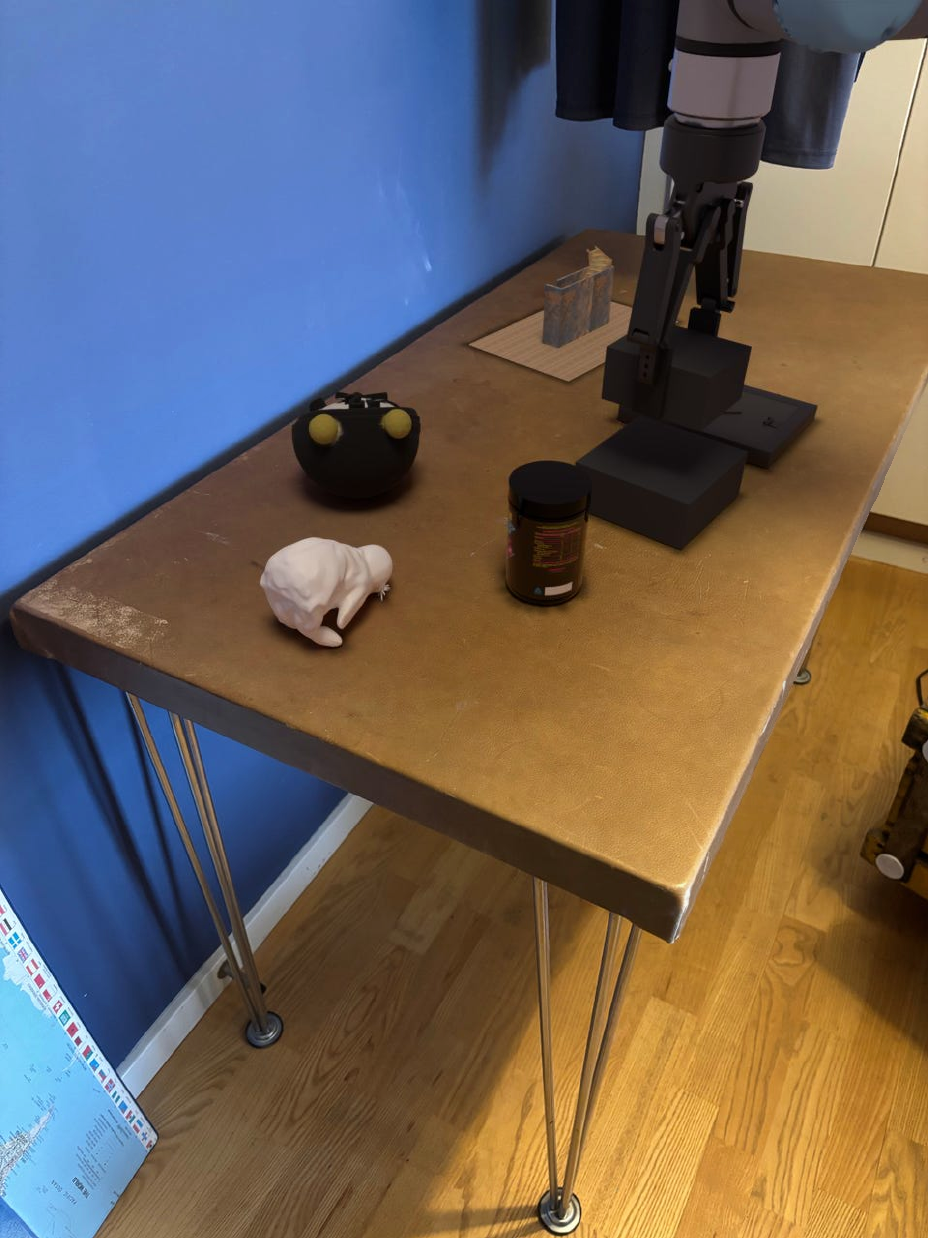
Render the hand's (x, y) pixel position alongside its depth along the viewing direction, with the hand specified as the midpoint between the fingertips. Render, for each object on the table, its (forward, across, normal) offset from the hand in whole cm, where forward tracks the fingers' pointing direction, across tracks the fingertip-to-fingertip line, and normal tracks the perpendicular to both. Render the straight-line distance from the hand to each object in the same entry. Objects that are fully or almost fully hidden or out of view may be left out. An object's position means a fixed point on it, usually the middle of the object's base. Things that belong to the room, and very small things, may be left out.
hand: (671, 395), depth 83 cm
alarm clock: (+11, +16, -25) cm, 32 cm away
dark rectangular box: (+11, 0, 0) cm, 11 cm away
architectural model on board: (+12, -30, -29) cm, 43 cm away
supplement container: (+11, +18, -1) cm, 21 cm away
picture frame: (+11, -19, -3) cm, 22 cm away
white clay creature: (+11, +32, -12) cm, 36 cm away
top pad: (0, 0, 0) cm, 0 cm away
